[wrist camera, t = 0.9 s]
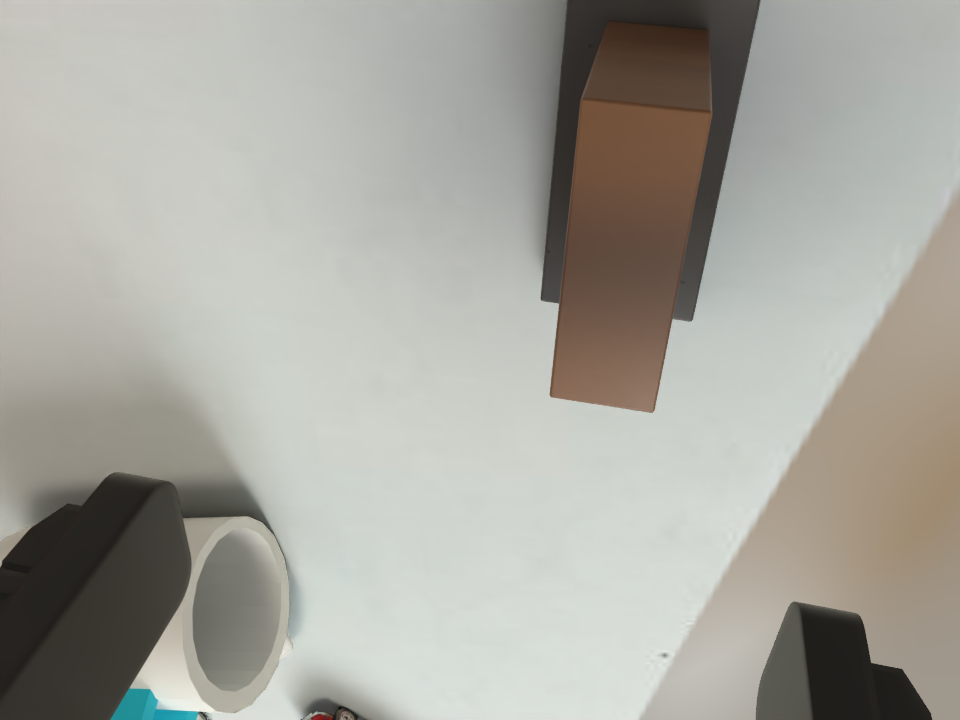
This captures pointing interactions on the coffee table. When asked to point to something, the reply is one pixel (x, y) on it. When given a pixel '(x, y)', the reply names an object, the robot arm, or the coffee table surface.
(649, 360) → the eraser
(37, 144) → the coffee table surface
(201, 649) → the mug
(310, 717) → the toy car
